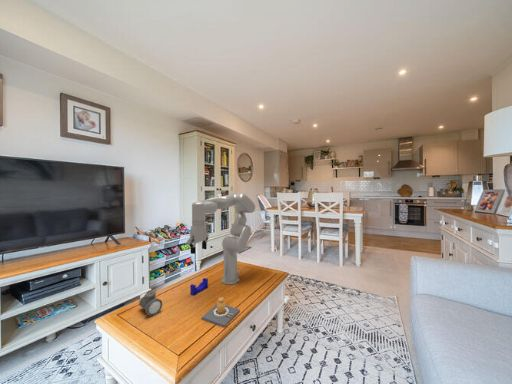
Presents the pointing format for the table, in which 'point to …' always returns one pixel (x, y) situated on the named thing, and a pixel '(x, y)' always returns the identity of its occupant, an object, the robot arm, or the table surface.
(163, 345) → the table surface
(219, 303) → the tan wooden peg
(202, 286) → the cable clip
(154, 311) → the pipe fitting
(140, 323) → the table surface
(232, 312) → the plate
